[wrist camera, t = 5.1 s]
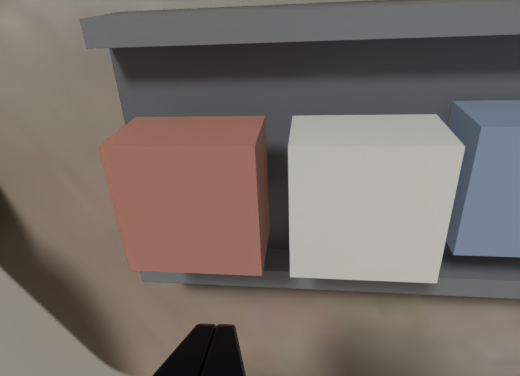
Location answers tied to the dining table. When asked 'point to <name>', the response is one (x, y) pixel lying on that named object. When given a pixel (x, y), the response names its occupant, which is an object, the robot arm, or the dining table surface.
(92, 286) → the dining table surface
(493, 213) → the blue-grey square block
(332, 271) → the off-white square block
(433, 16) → the panel
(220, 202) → the key red
